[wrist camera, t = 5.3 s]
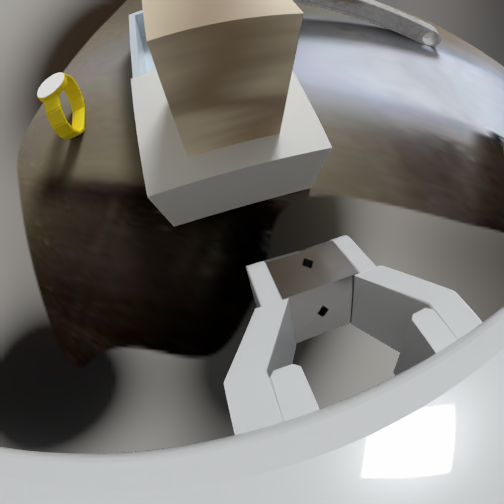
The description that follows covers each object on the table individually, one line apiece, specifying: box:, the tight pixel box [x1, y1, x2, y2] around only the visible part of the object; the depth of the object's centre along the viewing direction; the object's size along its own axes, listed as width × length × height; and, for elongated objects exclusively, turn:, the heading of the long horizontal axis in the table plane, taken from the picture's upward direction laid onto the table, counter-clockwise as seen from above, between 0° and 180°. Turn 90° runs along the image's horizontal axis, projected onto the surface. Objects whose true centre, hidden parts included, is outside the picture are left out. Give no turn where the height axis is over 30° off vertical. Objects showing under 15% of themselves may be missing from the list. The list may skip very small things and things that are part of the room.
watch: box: [37, 73, 86, 140], centre depth 19 cm, size 6×3×6 cm, turn 15°
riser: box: [131, 70, 332, 227], centre depth 18 cm, size 10×9×6 cm
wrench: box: [293, 0, 441, 47], centre depth 22 cm, size 8×2×30 cm
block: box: [142, 0, 304, 157], centre depth 11 cm, size 5×5×8 cm
